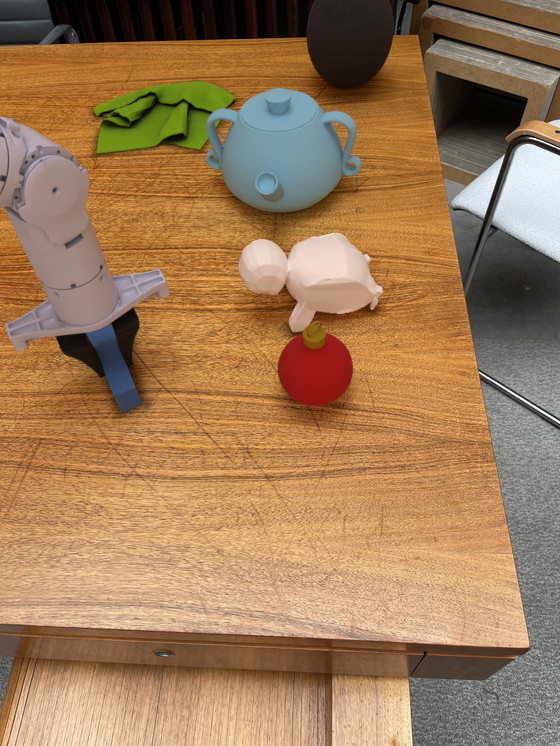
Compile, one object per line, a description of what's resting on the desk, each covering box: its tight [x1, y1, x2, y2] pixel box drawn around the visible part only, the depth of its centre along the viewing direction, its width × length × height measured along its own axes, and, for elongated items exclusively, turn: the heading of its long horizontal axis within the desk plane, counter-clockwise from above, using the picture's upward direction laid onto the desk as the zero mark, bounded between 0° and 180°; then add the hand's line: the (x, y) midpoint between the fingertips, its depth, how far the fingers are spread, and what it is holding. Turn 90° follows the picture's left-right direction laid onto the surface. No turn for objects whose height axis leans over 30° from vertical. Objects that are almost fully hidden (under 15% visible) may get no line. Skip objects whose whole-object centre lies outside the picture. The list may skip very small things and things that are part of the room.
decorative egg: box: [305, 0, 395, 90], centre depth 91 cm, size 12×12×15 cm
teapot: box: [205, 87, 362, 213], centre depth 76 cm, size 20×20×13 cm
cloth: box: [92, 80, 237, 155], centre depth 93 cm, size 20×22×2 cm
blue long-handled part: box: [86, 323, 143, 413], centre depth 65 cm, size 11×4×3 cm, turn 25°
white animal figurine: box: [238, 232, 384, 333], centre depth 67 cm, size 9×8×15 cm
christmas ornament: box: [277, 320, 354, 407], centre depth 59 cm, size 7×7×10 cm
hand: (114, 364), depth 64 cm, fingers closed on blue long-handled part, 2 cm apart
